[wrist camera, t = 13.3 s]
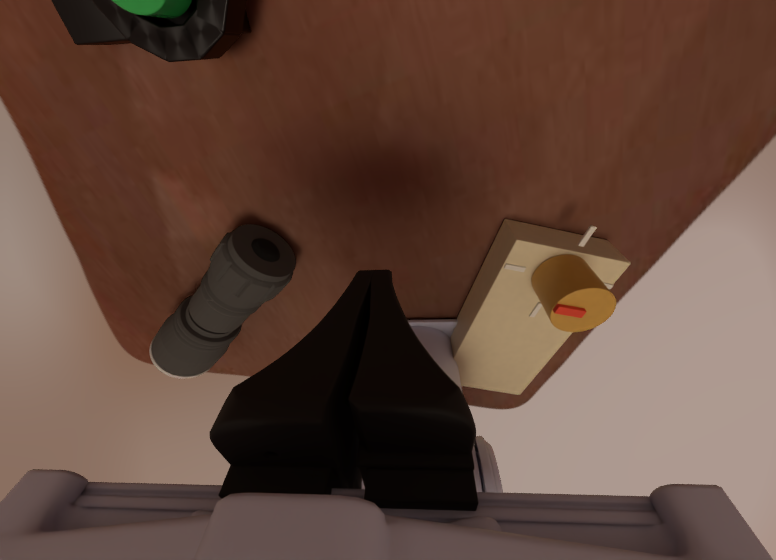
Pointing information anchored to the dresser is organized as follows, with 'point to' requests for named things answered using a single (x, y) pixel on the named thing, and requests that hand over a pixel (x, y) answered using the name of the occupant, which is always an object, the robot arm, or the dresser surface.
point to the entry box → (158, 27)
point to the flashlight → (223, 301)
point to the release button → (155, 7)
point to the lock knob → (572, 293)
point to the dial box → (519, 305)
